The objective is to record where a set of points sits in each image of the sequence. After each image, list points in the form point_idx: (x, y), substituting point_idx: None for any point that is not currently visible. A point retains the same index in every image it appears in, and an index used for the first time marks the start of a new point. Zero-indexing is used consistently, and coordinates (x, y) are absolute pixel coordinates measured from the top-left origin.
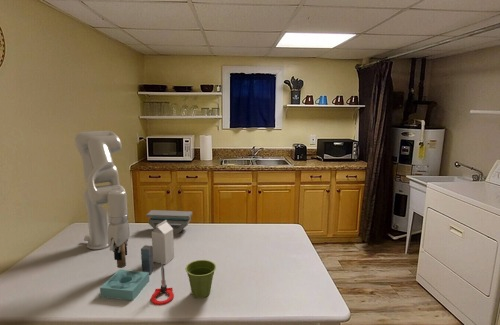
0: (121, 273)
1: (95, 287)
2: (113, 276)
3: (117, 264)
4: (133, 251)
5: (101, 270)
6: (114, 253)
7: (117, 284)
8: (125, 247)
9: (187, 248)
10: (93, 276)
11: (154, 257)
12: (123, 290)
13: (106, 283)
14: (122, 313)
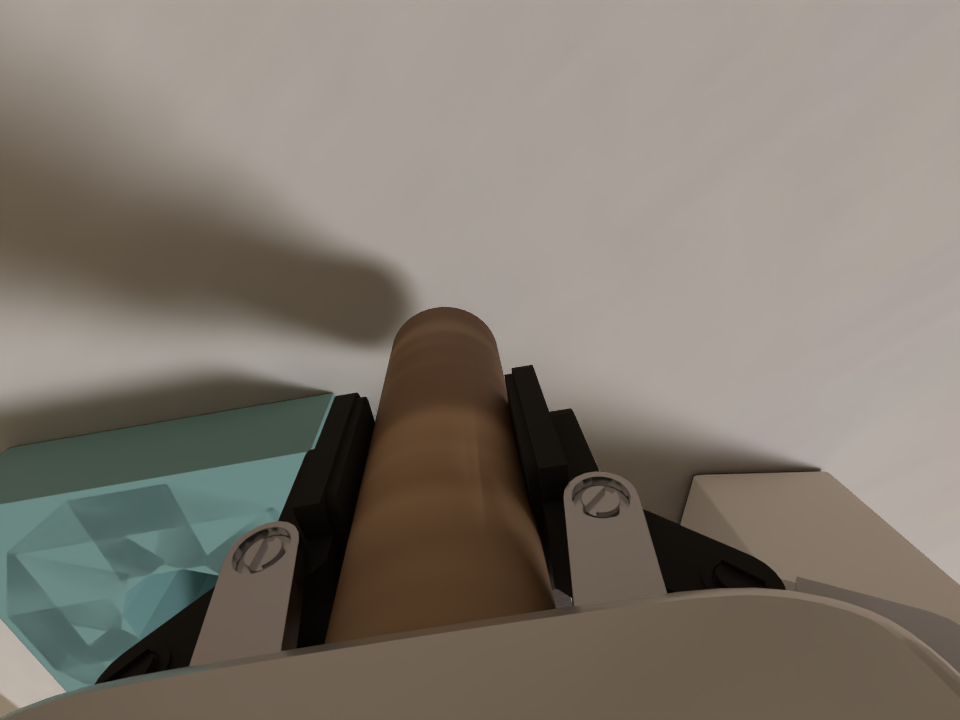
0: (256, 522)
1: (65, 283)
2: (161, 490)
3: (389, 360)
4: (943, 109)
5: (372, 39)
6: (307, 480)
7: (86, 610)
8: (550, 573)
9: (947, 573)
10: (203, 51)
11: (713, 525)
12: (68, 686)
13: (15, 521)
14: (15, 676)
